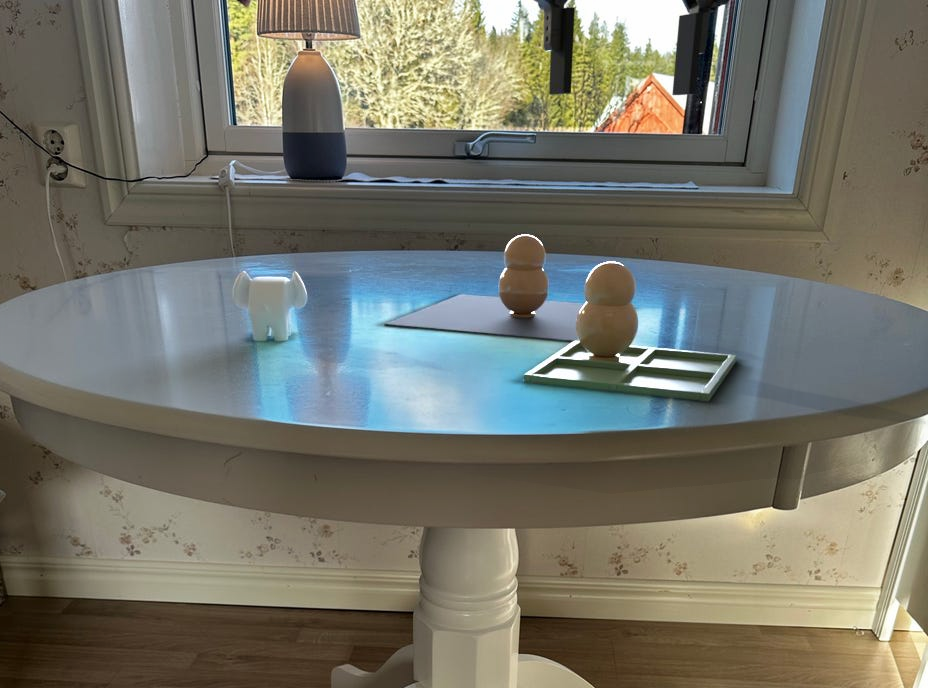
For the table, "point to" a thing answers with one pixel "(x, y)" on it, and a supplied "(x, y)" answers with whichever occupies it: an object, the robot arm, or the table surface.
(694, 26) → the robot arm
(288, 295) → the elephant figurine
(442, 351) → the table surface
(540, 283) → the tan snowman shaped figurine
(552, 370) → the green divided tray
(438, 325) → the mat
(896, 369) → the table surface
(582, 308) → the snowman figurine
